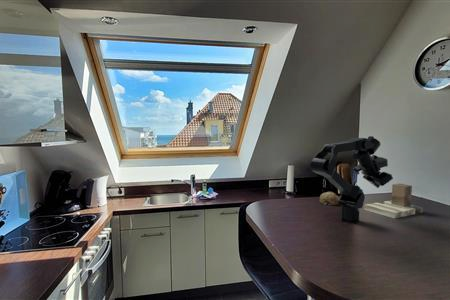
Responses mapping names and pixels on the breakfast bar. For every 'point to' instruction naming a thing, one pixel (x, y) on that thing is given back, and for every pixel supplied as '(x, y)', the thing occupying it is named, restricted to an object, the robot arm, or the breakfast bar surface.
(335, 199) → the bread roll
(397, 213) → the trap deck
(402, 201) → the walnut block
